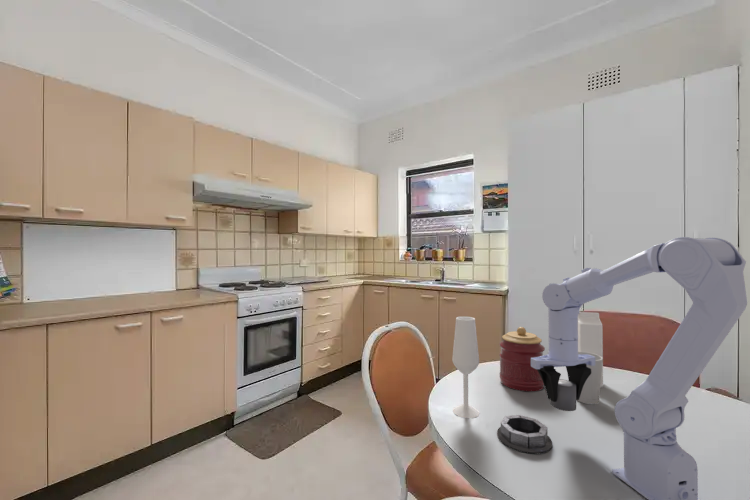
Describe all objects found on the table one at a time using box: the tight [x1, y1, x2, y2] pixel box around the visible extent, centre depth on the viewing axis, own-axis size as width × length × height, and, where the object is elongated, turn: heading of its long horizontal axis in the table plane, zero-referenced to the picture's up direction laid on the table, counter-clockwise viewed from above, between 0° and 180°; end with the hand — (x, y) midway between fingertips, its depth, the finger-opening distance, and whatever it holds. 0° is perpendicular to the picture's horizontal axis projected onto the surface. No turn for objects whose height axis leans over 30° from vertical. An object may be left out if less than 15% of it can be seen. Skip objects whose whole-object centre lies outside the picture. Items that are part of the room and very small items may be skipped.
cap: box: [550, 378, 577, 412], centre depth 75 cm, size 5×5×5 cm
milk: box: [578, 311, 604, 388], centre depth 105 cm, size 6×6×22 cm
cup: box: [576, 352, 604, 405], centre depth 93 cm, size 8×8×12 cm
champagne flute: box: [451, 316, 480, 419], centre depth 86 cm, size 7×7×24 cm
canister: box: [498, 326, 546, 392], centre depth 104 cm, size 13×13×18 cm
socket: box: [496, 414, 553, 455], centre depth 74 cm, size 11×11×3 cm
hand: (563, 398), depth 74 cm, fingers closed on cap, 5 cm apart
